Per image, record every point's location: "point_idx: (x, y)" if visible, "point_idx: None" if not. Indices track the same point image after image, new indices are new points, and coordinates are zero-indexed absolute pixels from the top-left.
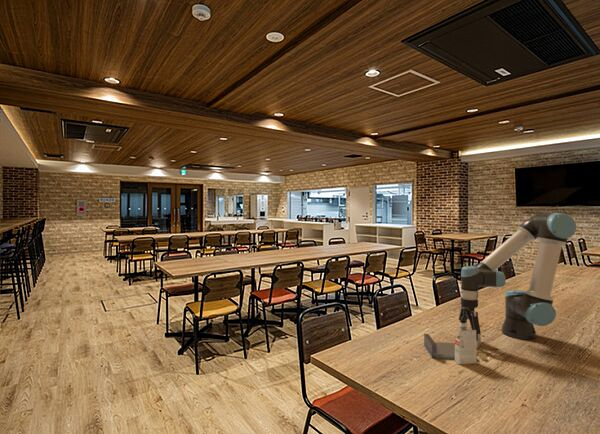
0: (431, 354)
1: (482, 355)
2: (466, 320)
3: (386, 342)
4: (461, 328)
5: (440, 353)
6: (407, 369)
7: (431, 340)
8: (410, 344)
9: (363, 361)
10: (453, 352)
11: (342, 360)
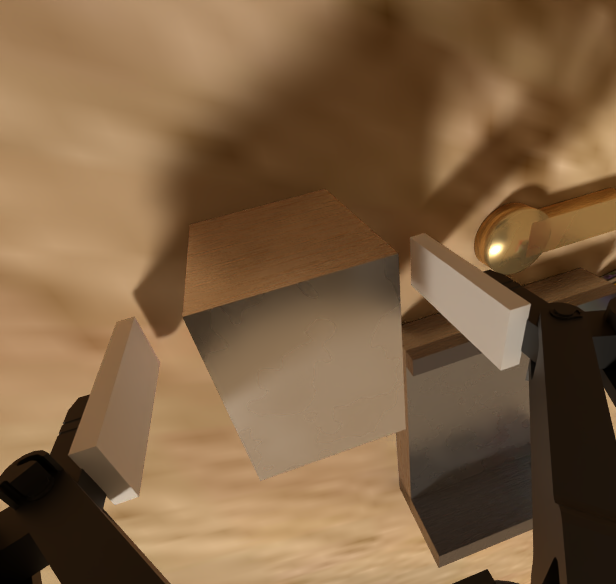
0: None
1: (590, 221)
2: (100, 509)
3: (378, 577)
4: (313, 453)
5: None
6: None
7: None
8: (386, 526)
9: (530, 553)
10: None
11: (519, 579)
